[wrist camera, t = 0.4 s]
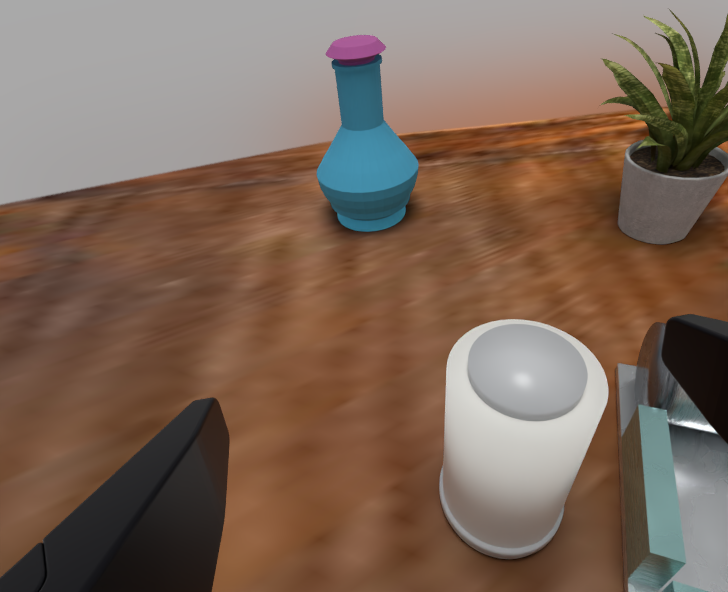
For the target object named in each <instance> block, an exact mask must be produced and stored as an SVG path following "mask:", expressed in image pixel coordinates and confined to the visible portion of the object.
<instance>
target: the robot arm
mask: <svg viewBox="0 0 728 592" xmlns="http://www.w3.org/2000/svg"><path fill="white" fill-rule="evenodd" d="M661 358H662V361H663V363H664V365H665V366H666V368H667V369H668V370H669V372H670V373H671V374H672V376H673V377H674V378H675V380H676V381H677V382H678V383H679V385H680V386H681V387H682V389H683V390H684V391H685V393H686V394H687V395H688V397H689V398H690V399H691V401H692V402H693V403H694V405H695V406H696V407H697V408H698V410H699V411H700V412H701V414H702V415H703V416H704V418H705V419H706V420H707V421H708V423H709V424H710V425H711V426H712V427H713V429H714V430H715V431H716V432H717V433H718V434H719V435H720V437H721V438H722V439H723V440H724V441H725V442H726V443H727V444H728V322H725V321H721V320H716V319H712V318H707V317H703V316H698V315H693V314H687V315H682V316H676V317H672V318H670V319H669V320H668V321H667V323H666V326H665V332H664V337H663V343H662V349H661ZM228 458H229V433H228V429H227V426H226V423H225V420H224V417H223V414H222V410H221V407H220V404H219V402H218V400H217V399H216V398H206V399H201V400H195V401H193V402H192V403H191V404H190V405H189V406H187V407H186V408H185V409H184V410H183V411H182V412H181V413H180V414H179V415H178V416H177V417H175V418H174V419H173V420H172V421H171V422H170V423H169V424H168V425H167V426H166V427H165V428H164V429H162V430H161V431H160V432H159V433H158V434H157V435H156V436H155V437H154V438H153V439H152V440H150V441H149V442H148V443H147V444H146V445H145V446H144V447H143V448H142V449H141V450H140V451H138V452H137V453H136V454H135V455H134V456H133V457H132V458H131V459H130V460H129V461H128V462H126V463H125V464H124V465H123V466H122V467H121V468H120V469H119V470H118V471H117V472H116V473H115V474H113V475H112V476H111V477H110V478H109V479H108V480H107V481H106V482H105V483H104V484H103V485H101V486H100V487H99V488H98V489H97V490H96V491H95V492H94V493H93V494H92V495H91V496H89V497H88V498H87V499H86V500H85V501H84V502H83V503H82V504H81V505H80V506H79V507H77V508H76V509H75V510H74V511H73V512H72V513H71V514H70V515H69V516H68V517H67V518H65V519H64V520H63V521H62V522H61V523H60V524H59V525H58V526H57V527H56V528H55V529H53V530H52V531H51V532H50V533H49V534H48V535H47V536H46V537H45V538H44V539H43V543H38V544H37V545H36V546H35V547H34V548H33V549H32V550H30V551H29V552H28V553H27V554H26V555H25V556H24V557H23V558H22V559H21V560H20V561H18V562H17V563H16V564H15V565H14V566H13V567H12V568H11V569H10V570H8V571H7V572H6V573H5V574H4V575H3V576H2V577H1V578H0V592H212V586H213V581H214V575H215V570H216V564H217V559H218V553H219V547H220V542H221V536H222V531H223V524H224V518H225V507H226V491H227V475H228Z"/></svg>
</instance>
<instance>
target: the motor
mask: <svg viewBox="0 0 728 592" xmlns="http://www.w3.org/2000/svg"><path fill="white" fill-rule="evenodd" d="M665 326H666V323H659V322H656V323H654V324H653V325H652V326H651V327H650V328H649V330H648V332H647V334H646V336H645V338H644V341H643V343H642V346H641V350H640V354H639V358H638V362H637V367H636V366H631V365H626V364H620V363H618V364H617V367H616V369H615V372H616V397H617V422H618V447H619V472H620V497H621V522H622V546H623V571H624V592H728V444H727V443H726V442H725V441H724V440H723V439H722V438H721V437H720V435H719V434H718V433H717V432H716V431H715V430H714V429H713V427H712V426H711V425H710V424H709V423H708V421H707V420H706V419H705V418H704V416H703V415H702V414H701V412H700V411H699V410H698V408H697V407H696V406H695V405H694V403H693V402H692V401H691V399H690V398H689V397H688V395H687V394H686V393H685V391H684V390H683V389H682V387H681V386H680V385H679V383H678V382H677V381H676V380H675V378H674V377H673V376H672V374H671V373H670V372H669V370H668V369H667V368H666V366H665V365H664V363H663V361H662V358H661V349H662V343H663V337H664V332H665Z"/></svg>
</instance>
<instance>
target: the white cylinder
mask: <svg viewBox="0 0 728 592" xmlns="http://www.w3.org/2000/svg"><path fill="white" fill-rule="evenodd" d="M607 399H608V383H607V378H606V376H605V373H604V370H603V368H602V366H601V365H600V363H599V361H598V360H597V359H596V357H595V356H594V355H593V354H592V352H591V351H590V350H589V349H588V348H587V347H586V346H584V345H583V344H582V343H581V342H580V341H578V340H577V339H575V338H574V337H572V336H571V335H569V334H567V333H565V332H564V331H561V330H559V329H557V328H555V327H552V326H549V325H546V324H543V323H539V322H534V321H528V320H514V319H509V320H499V321H493V322H489V323H486V324H483V325H480V326H478V327H476V328H474V329H472V330H470V331H469V332H467V333H466V334H465V335H463V336H462V337H461V338H460V339H459V340H458V341H457V342H456V344H455V345H454V347H453V348H452V350H451V352H450V354H449V358H448V361H447V372H446V400H445V429H444V457H443V466H442V470H441V474H440V485H439V491H440V501H441V505H442V509H443V511H444V514H445V516H446V518H447V520H448V522H449V523H450V525H451V526H452V528H453V529H454V530H455V532H456V533H457V534H458V536H459V537H460V538H461V539H462V540H463V541H464V542H466V543H467V544H468V545H469V546H471V547H472V548H474V549H475V550H477V551H479V552H481V553H483V554H485V555H488V556H491V557H495V558H500V559H517V558H521V557H525V556H528V555H531V554H533V553H536V552H537V551H539V550H541V549H542V548H543V547H545V546H546V545H547V544H548V543H549V542H550V541H551V539H552V538H553V537H554V535H555V533H556V532H557V529H558V527H559V525H560V522H561V520H562V517H563V512H564V503H565V501H566V499H567V496H568V494H569V492H570V489H571V487H572V484H573V482H574V480H575V477H576V475H577V473H578V470H579V468H580V466H581V463H582V461H583V459H584V456H585V454H586V451H587V449H588V447H589V444H590V442H591V440H592V437H593V435H594V433H595V430H596V428H597V426H598V423H599V421H600V419H601V416H602V414H603V411H604V409H605V406H606V404H607Z"/></svg>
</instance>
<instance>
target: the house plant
mask: <svg viewBox="0 0 728 592" xmlns="http://www.w3.org/2000/svg"><path fill="white" fill-rule="evenodd" d="M672 14H673V15H674V13H673V12H672ZM674 16H675V15H674ZM644 17H645V16H644ZM645 18H647V19H649V20H650V21H651V22H653V23H654V24H656V25H657V26H658V27H660V28H661V29H662V30H663V31H664V33H665V34H666V35H667V36H668V37H669V39H668V38H667V37H665V36H663V35H660V34H658V35H660V36H662V37H664V38H665V39H666V40H667V42H668V44H669V46H670V48H671V51H672V56H673V65H674V67H673V66H670V65H667V64H663V63H658V64H660V65H661V66H662V67H663V74H662V76H661V74H660V73H659V71H658V69H657V67H656V66H655V64H654V63H653V62H652V60H651V59H650V57H649V56H648V55H647V54H646V53H645V52H644V50H643V49H642V48H640V47H639V46H638V45H637V44H635V43H634V42H633V41H631V40H629V39H628V38H626V37H623V36H619V35H617V36H619V37H621V38H623V39H625V40H626V41H628V42H629V43H631V44H632V45H633V46H634V47H635V48H636V49H637V50H638V51H639V52H640V53H641V54H642V55H643V57H644V58H645V60H646V61H647V62H648V64H649V66H650V67H651V69H652V70H653V72H654V74H655V76H656V78H657V80H658V82H659V84H660V87H661V89H662V92H663V94H664V97H665V99H666V102H667V105H668V108H669V111H670V114H671V116H672V120H673V121H671V120H669V119H668V117H667V115H666V114H665V112H664V111H663V109H662V108H661V106H660V105H659V103H658V101H657V100H656V98H655V97H654V95H653V94H652V93H651V92H650V91H649V90H648V89H647V88H646V87H645V86H644V85H643V84H642V83H641V82H640V81H639V80H638V79H637V78H636V77H635V76H634V75H632V74H631V73H630V72H629V71H628V70H627V69H625V68H623V67H622V66H621V65H619V64H617V63H615V62H612V61H609V60H607V59H603V61H604V63H605V65H606V66H607V67H608V68H609V69H610V70H611V71H612V72H613V73H614V76H615V79H616V81H617V83H618V85H619V86H620V88H621V89H622V90H623V91H624V92H625V93H626V94H627V95H628V96H627V97H616V98H612V99H609V100H607V101H605V102H604V103H602V104H606V103H620V104H626V105H629V106H632V107H633V108H635V109H636V110H637V111H638V112H639V113H640V114H641V115H624V116H628V117H630V118H632V119H637V120H642V121H645V123H646V124H647V126H648V128H649V136H650V137H649V136H648V137H646V138H645V139H644V140H642V141H638V142H636V143H634V144H632V145H631V146H630V147H628V148H627V149H626V153H625V159H624V168H623V178H622V187H621V196H620V206H619V215H618V226H619V228H620V229H621V230H622V232H624V233H625V234H626V235H628V236H630V237H632V238H634V239H636V240H639V241H642V242H646V243H652V244H669V243H673V242H677V241H680V240H682V239H684V238H685V237H686V235H687V234H688V232H689V231H690V229H691V228H692V227H693V225H694V224H695V222H696V221H697V219H698V218H699V216H700V215H701V213H702V212H703V211H704V209H705V208H706V206H707V205H708V203H709V202H710V200H711V199H712V197H713V196H714V195H715V193H716V192H717V190H718V189H719V187H720V186H721V184H722V183H723V181H724V180H725V179H726V177H727V176H728V154H727V153H726V152H724V151H723V150H722V149H719V148H717V146H719V145H720V144H722V143H724V142H726V141H728V105H727V106H726V107H725V105H726V104H727V103H728V82H727V84H726V86H725V87H724V88H723V89H722V90H720V91H719V92H718V93H717V94H715V93H716V92H717V90H718V89H719V87H720V85H721V82H722V78H723V77H724V75H725V71H724V72H723V69H724V67H725V65H726V63H727V61H728V15H727V18H726V24H725V28H724V30H723V32H722V35H721V36H720V38H719V41H718V42H717V44H716V46H715V48H714V52H713V55H712V58H711V62H710V65H709V68H708V71H707V74H706V77H705V80H704V83H703V86H702V88H700V66H699V60H698V54H697V49H696V46H695V43H694V41H693V38H692V36H691V34H690V33H689V31H688V29H687V28H686V27H685V26H684V24H683V23H682V22H681V21H680V20H679V19H678V18H677V17H676V16H675V18H676V19H677V20H678V21H679V22H680V24H681V25H682V27H683V28H684V29H685V31H686V33H687V35H688V37H689V40H690V44H691V47H692V52H693V58H694V63H695V78H694V71H693V66H692V60H691V56H690V52H689V50H688V47H687V45H686V43H685V41H684V39H683V38H682V36H681V35H680V34H679V33H678V32H676V31H675V30H674V29H672V28H671V27H669V26H667V25H665V24H663V23H661V22H659V21H657V20H655V19H652V18H649V17H645ZM662 78H663V79H662ZM663 80H664V81H663ZM664 82H665V84H666V86H667V89H668V91H669V94H670V98H671V102H670V99H669V96H668V93H667V89H666V86H665V84H664ZM602 104H601V105H602ZM671 104H672V105H671ZM724 107H725V108H724ZM673 135H674V136H673Z"/></svg>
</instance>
